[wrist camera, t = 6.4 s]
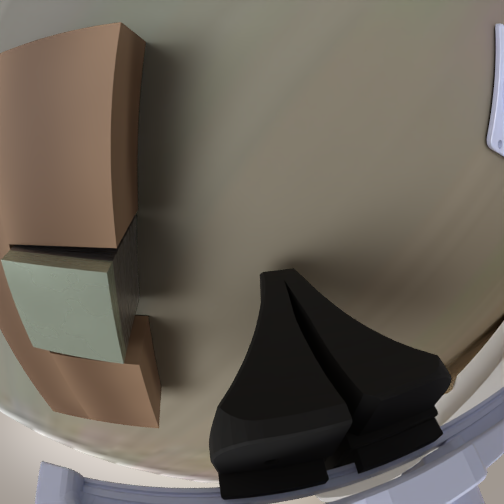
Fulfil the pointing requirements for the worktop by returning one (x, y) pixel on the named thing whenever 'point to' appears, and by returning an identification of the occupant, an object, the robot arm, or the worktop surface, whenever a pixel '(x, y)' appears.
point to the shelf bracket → (475, 380)
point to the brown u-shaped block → (75, 199)
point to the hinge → (367, 483)
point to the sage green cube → (77, 296)
